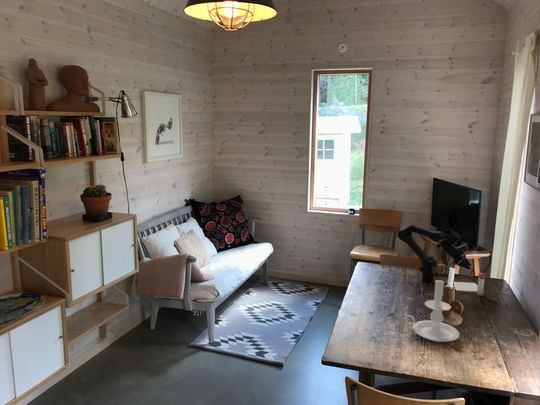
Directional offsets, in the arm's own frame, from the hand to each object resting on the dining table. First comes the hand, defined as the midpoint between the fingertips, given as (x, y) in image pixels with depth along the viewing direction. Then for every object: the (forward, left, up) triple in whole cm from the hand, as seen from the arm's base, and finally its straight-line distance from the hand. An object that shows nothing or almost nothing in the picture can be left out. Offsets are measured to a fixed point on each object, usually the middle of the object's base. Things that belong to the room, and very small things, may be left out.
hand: (470, 267), depth 258 cm
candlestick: (-35, -63, -15) cm, 73 cm away
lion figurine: (-11, +29, -15) cm, 35 cm away
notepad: (0, +5, -15) cm, 15 cm away
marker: (+5, -6, -15) cm, 16 cm away
